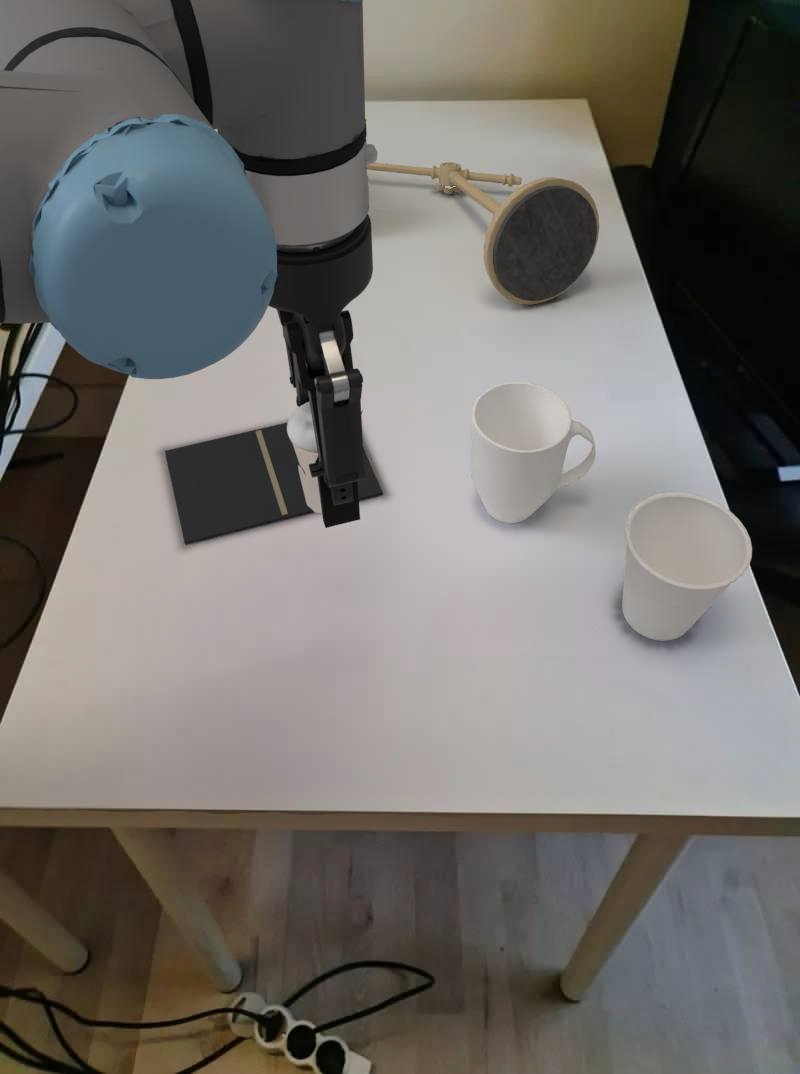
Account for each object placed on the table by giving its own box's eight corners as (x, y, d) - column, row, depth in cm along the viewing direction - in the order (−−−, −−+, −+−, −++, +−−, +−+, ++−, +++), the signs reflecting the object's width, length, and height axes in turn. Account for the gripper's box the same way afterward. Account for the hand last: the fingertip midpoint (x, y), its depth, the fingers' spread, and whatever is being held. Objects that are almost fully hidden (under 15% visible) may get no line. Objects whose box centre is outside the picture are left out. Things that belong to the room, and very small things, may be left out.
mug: (469, 539, 80) (477, 452, 71) (460, 472, 86) (467, 383, 76) (589, 534, 80) (613, 447, 71) (573, 468, 86) (593, 378, 77)
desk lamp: (626, 176, 96) (479, 96, 124) (339, 196, 85) (250, 103, 114) (599, 299, 105) (469, 198, 134) (339, 330, 95) (257, 214, 123)
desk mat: (185, 544, 80) (184, 541, 80) (165, 453, 88) (164, 450, 87) (382, 494, 84) (382, 491, 83) (347, 411, 92) (346, 408, 91)
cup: (603, 561, 78) (627, 483, 70) (711, 578, 77) (749, 501, 68) (597, 650, 72) (622, 577, 64) (714, 671, 71) (756, 598, 62)
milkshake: (359, 528, 62) (354, 436, 54) (290, 516, 63) (275, 424, 55) (372, 482, 65) (369, 389, 57) (306, 472, 66) (294, 378, 58)
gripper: (415, 293, 41) (414, 570, 59) (330, 135, 51) (351, 413, 70) (267, 322, 40) (312, 597, 58) (209, 154, 50) (263, 432, 68)
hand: (333, 496), depth 64 cm, fingers closed on milkshake, 4 cm apart
